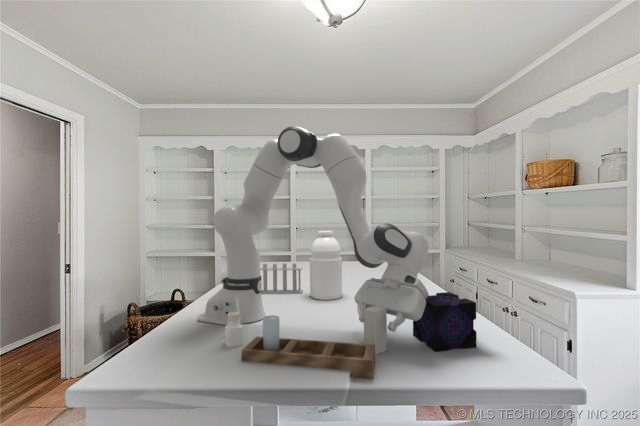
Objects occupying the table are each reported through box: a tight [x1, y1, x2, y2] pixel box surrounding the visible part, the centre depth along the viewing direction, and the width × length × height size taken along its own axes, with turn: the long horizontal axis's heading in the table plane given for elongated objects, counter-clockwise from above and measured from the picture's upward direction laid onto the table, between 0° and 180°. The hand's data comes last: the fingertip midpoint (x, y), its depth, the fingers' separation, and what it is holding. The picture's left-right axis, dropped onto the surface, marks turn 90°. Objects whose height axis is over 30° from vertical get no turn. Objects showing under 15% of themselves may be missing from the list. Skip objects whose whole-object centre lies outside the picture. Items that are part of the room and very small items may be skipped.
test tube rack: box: [260, 262, 304, 295], centre depth 155 cm, size 25×4×13 cm, turn 89°
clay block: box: [363, 305, 388, 356], centre depth 89 cm, size 4×5×11 cm
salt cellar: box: [262, 314, 281, 352], centre depth 84 cm, size 4×4×9 cm
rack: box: [241, 336, 376, 380], centre depth 82 cm, size 30×9×4 cm, turn 78°
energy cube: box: [412, 291, 477, 353], centre depth 95 cm, size 12×12×12 cm
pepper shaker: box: [224, 312, 244, 348], centre depth 91 cm, size 4×4×10 cm
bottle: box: [309, 230, 343, 301], centre depth 147 cm, size 14×14×28 cm
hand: (375, 325), depth 89 cm, fingers open, 8 cm apart
